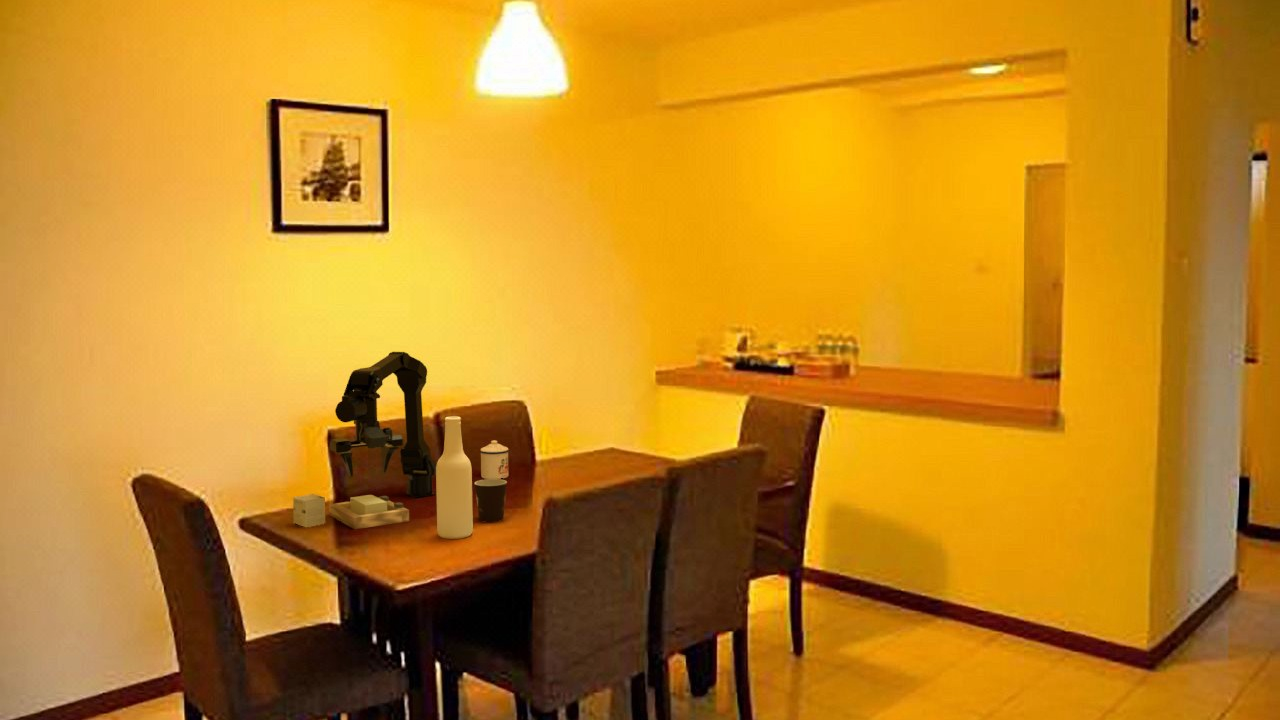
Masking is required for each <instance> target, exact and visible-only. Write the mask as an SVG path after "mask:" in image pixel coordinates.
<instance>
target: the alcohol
mask: <svg viewBox="0 0 1280 720" xmlns="http://www.w3.org/2000/svg"><path fill="white" fill-rule="evenodd" d="M461 420H462V418H461V416H457V415H452V416H446V417H445V418H444V421H445V422H444V425H445V429H444V443H443V444H444V445H443V452H442V455H441V456H440V457H439V458H438V461H436V465H437V466H436V474H435V479H436V480H435V481H436V482H435V483H436V486H435V487H436V524H437V525H436V526H437V529H436V530H437V534H438V536H439V537H440V538H442V539H445V540H447V539H448V540H451V539H452V540H457V539H459V540H460V539H464V538H468V537H470V536H471V535H472V533H473V530H474V527H473V525H474V524H473V521H474V518H473V514H474V513H473V481H472V480H473V478H472V477H473V475H472V474H473V472H472V471H473V470H472V467H473V466H472V463H471V460H470V458H468V456H467V455H466V454H465V451H464V447H463V438H462V437H463V435H462V427H461V426H462V425H461V424H462V422H461Z"/></svg>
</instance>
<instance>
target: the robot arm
mask: <svg viewBox="0 0 1280 720" xmlns="http://www.w3.org/2000/svg"><path fill="white" fill-rule="evenodd" d="M392 374H393V375H395V376H396V380H397V385H398V386H399V388H400V389H401V391H402V392H403V397H404V398H403V399H404V417H405V418H404V420H405V433H406V442H404V441H405V440H404V437H403V436H402V434H399V433H395V432H393V428H391V427H383V428H381V426H380V422H379V420H378V406H377V405H378V400H377V399H380V398H381V395H380V394H379V393H378V392H377V391H379V390H380V388H381V387H382V386H383V385H384V384H383V383H384V382H383V380H385V379H387V378H388V377H389V376H391V375H392ZM427 376H428V368H427V366H426V365H425V364H424V362H422V361H421V360H419V359H417V358H414V357H413V356H411V354H409V353H407V352H405V351H391V352H389V353H388V355H387V356H385V357H383V358H382V359H380V360H379V361H377V362H376V363H374V364H372V365H371V366H368V367H361V368H358V369H354V370H353V371H352V372H351V373H350V376H349V379H348V381H347V384H346V387H345V389H344V391H343V395H342V396H341V401H340V402H338V403H337V405H336V407H335V410H334V411H335V416H336V418H337V419H338V420H339V421H340V422H342V423H350V422H353V424H354V426H355V435H353V436H354V439H353V440H349V439H347V438H335V439H331V440H330V442H329V451H332V452H334V453H335V454H337V455H339V457H340V458H341V459H342V462H343V464H344V466H345V468H346V471H347V472H348V475H349V477H351V478H352V477H354V473H353V472H354V469H353V468H354V467H353V460H352V457H353V452H351V450H352V448H353V449H354V448H362V447H367V448H368V449H375V448H380V451H381V453H380V454H381V468H382V472H383V473H386V472H387V469H388V467H389V463H390V460H391V458H392V455H393V453H394V452H395V451H396V450H399V449H400V465H401V468H402V472H403V473H402V474H403V475H404V476H406V475H407V476H408V477H407V478H408V479H406V492H405V493H406V495H408V496H410V497H412V498H421V497H428V496H435V495H436V493H435V492H433V476H436V466H437V463H436V462H435V461H434V459H433V457H432V455H431V448H430V447H429V446H428V444H427V442H426V441H425V437H424V419H423V403H422V402H423V401H422V400H423V399H422V391H423V389H424V387H425V385H426V384H427ZM404 443H405V444H404ZM400 446H403V448H400Z"/></svg>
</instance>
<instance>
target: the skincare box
mask: <svg viewBox="0 0 1280 720" xmlns="http://www.w3.org/2000/svg"><path fill="white" fill-rule="evenodd" d="M292 500H293V504H292V505H293V507H292V509H293V514H292V515H293V524H294V523H296V524H298V525H301V526H304V527H309V526H314V525H318V526H320V525H319V524H323V525H325V524H326V497H324V496H322V495H318V494H315V493H311V494H306V495H305V494H304V495H299V496H294V497H293V498H292ZM324 523H325V524H324ZM298 525H297V526H298ZM301 526H300V527H301ZM304 527H303V528H304ZM314 527H315V526H314ZM309 528H310V527H309Z"/></svg>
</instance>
